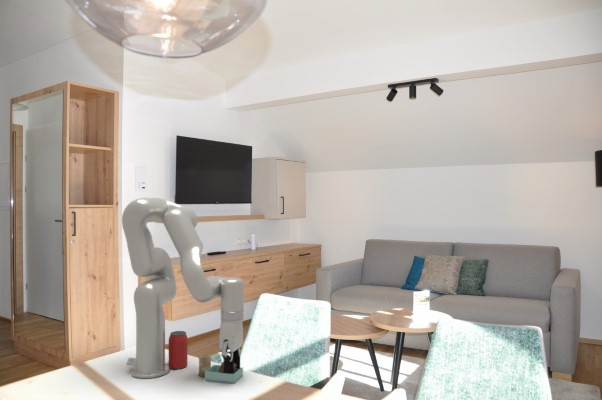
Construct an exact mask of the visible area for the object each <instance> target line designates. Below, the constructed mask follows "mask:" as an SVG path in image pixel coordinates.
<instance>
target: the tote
mask: <svg viewBox="0 0 602 400" xmlns="http://www.w3.org/2000/svg"><path fill="white" fill-rule="evenodd" d="M220 366H221V364H213V365H211V367H210V368H209V369H208V370H206V371H205V377H204V382H215V383H221V384H222V383H223V384H224V383H225V384H232V385H235V384H236V383H237V382H239V380H241V379H242V378H243V376H244V367H242V366H240V368H239V369H237V368H235V371H234V373H233V374H229V373H219V372H218V371H219V369H220Z"/></svg>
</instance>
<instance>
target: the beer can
mask: <svg viewBox="0 0 602 400" xmlns="http://www.w3.org/2000/svg"><path fill="white" fill-rule="evenodd" d="M188 342H189V341H188V336H187V332H186V331H184V330H183V331H182V330H180V331H179V330H176V331H172V332H170V333H169V337H168V366H169V369H172V370H181V369H185V368H186V367H187V366H188V350H189V349H188V347H189V345H188Z"/></svg>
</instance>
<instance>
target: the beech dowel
mask: <svg viewBox="0 0 602 400" xmlns="http://www.w3.org/2000/svg"><path fill="white" fill-rule="evenodd" d="M210 367H212V356H211V355H201V356H199V357H198V376H199V377H200V378H205V371H206V370H208V369H209V368H210Z"/></svg>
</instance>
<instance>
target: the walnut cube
mask: <svg viewBox="0 0 602 400" xmlns="http://www.w3.org/2000/svg"><path fill="white" fill-rule="evenodd" d="M220 365H221V366H220V369H219V371H218V372H219V373H224V361H222V362H221V364H220ZM236 366H237V364H235V363H234V371H235V368H236Z"/></svg>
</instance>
